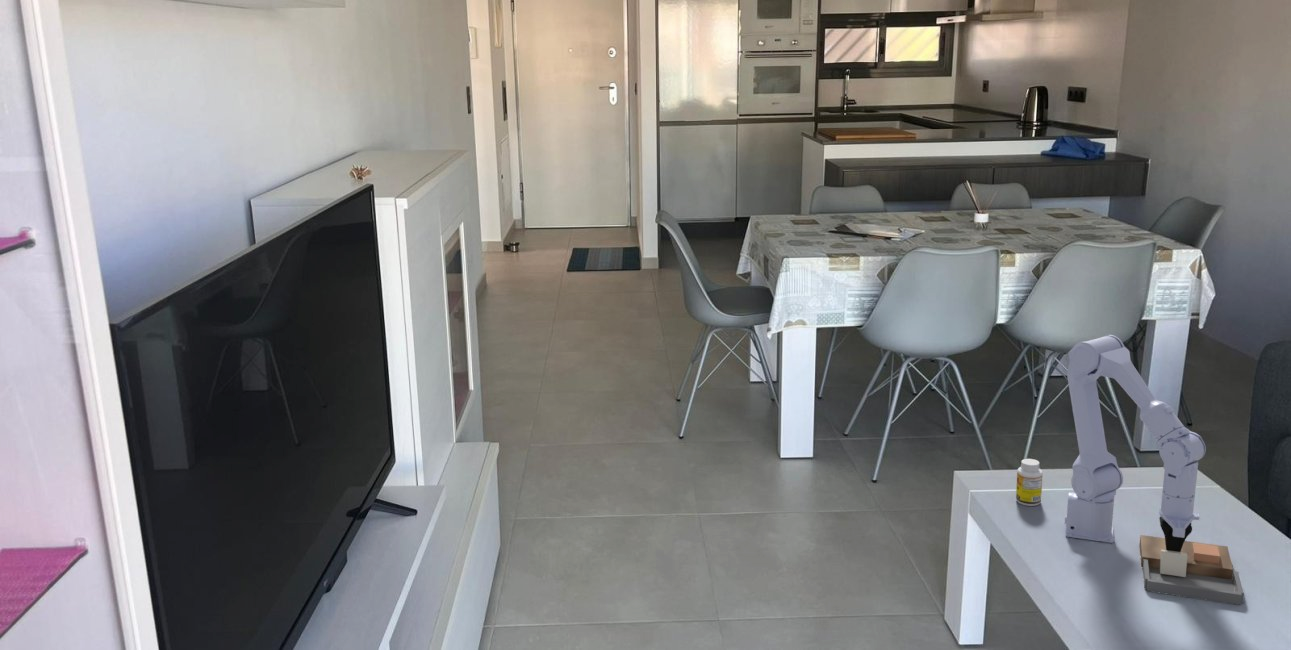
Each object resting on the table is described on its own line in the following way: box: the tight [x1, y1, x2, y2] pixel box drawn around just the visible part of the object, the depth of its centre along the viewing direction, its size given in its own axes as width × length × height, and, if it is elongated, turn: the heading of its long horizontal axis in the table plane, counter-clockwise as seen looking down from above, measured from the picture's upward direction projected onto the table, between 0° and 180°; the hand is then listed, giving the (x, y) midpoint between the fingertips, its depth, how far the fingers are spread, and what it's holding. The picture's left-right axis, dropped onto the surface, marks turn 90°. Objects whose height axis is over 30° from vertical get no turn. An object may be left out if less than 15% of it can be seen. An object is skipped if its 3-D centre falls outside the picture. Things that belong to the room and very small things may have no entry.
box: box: [1142, 559, 1244, 606], centre depth 190 cm, size 17×9×2 cm, turn 66°
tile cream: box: [1160, 550, 1187, 577], centre depth 193 cm, size 4×4×2 cm
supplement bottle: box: [1015, 458, 1043, 507], centre depth 228 cm, size 6×6×10 cm
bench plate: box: [1138, 534, 1234, 580], centre depth 198 cm, size 16×10×2 cm, turn 66°
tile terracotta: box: [1192, 542, 1220, 563], centre depth 196 cm, size 4×4×2 cm
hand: (1172, 553), depth 196 cm, fingers closed
